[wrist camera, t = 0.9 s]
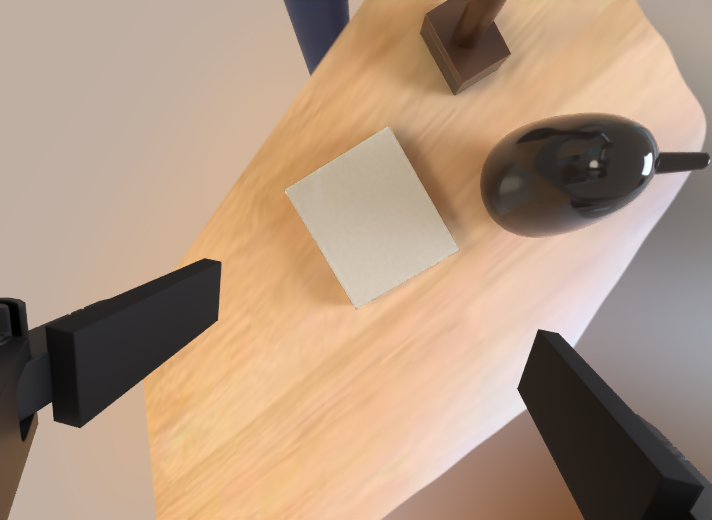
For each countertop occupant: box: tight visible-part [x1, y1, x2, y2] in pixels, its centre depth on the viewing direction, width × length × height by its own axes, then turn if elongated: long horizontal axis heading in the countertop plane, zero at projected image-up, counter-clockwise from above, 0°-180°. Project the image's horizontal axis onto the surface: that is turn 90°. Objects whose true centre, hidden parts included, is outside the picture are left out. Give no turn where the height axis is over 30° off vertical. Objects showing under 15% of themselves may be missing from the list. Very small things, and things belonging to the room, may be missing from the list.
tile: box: [284, 126, 459, 309], centre depth 34 cm, size 14×12×2 cm
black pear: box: [480, 113, 711, 238], centre depth 27 cm, size 10×10×15 cm
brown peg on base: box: [420, 0, 511, 95], centre depth 27 cm, size 7×5×14 cm
